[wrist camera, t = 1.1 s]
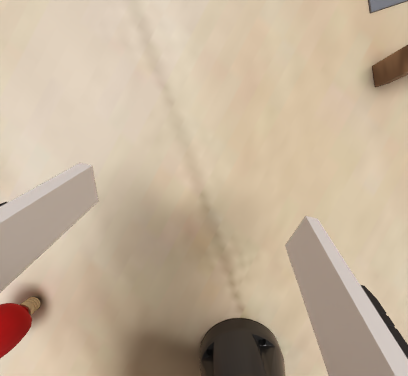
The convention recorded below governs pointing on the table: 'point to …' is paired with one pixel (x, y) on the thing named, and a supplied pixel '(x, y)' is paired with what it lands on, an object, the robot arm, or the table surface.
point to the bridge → (391, 67)
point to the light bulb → (15, 322)
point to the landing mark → (382, 4)
